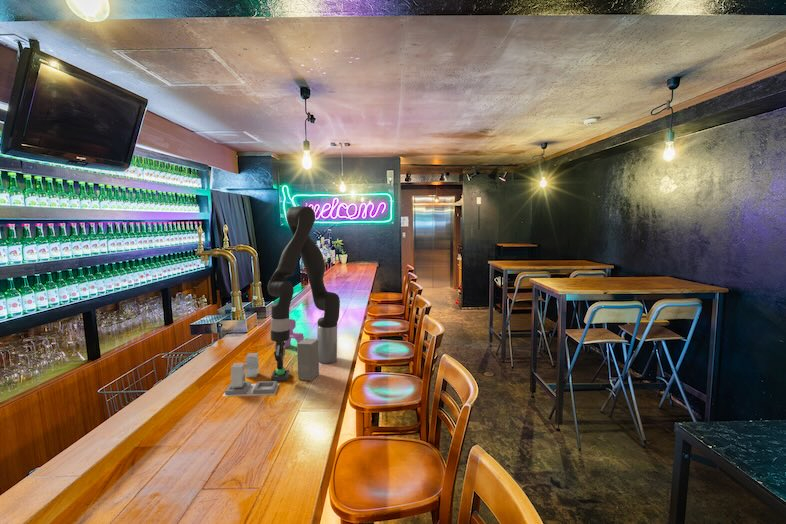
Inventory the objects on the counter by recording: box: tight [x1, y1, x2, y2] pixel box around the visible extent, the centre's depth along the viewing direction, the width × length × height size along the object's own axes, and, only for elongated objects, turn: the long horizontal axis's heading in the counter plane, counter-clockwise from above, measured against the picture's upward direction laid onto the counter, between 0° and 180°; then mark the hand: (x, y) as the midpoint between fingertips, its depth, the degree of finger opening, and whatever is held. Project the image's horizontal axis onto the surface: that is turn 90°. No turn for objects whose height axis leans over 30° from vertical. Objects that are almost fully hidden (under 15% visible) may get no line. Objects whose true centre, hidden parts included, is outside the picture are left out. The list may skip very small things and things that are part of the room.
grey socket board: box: [221, 380, 280, 397], centre depth 141 cm, size 19×10×2 cm, turn 97°
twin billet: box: [230, 362, 246, 389], centre depth 140 cm, size 4×4×10 cm
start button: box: [275, 366, 286, 376], centre depth 152 cm, size 4×4×3 cm
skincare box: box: [296, 337, 320, 382], centre depth 156 cm, size 8×7×16 cm
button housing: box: [270, 369, 291, 382], centre depth 152 cm, size 6×6×3 cm
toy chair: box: [284, 318, 305, 352], centre depth 189 cm, size 8×9×15 cm
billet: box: [245, 352, 260, 379], centre depth 153 cm, size 4×4×10 cm
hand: (280, 368), depth 151 cm, fingers closed
